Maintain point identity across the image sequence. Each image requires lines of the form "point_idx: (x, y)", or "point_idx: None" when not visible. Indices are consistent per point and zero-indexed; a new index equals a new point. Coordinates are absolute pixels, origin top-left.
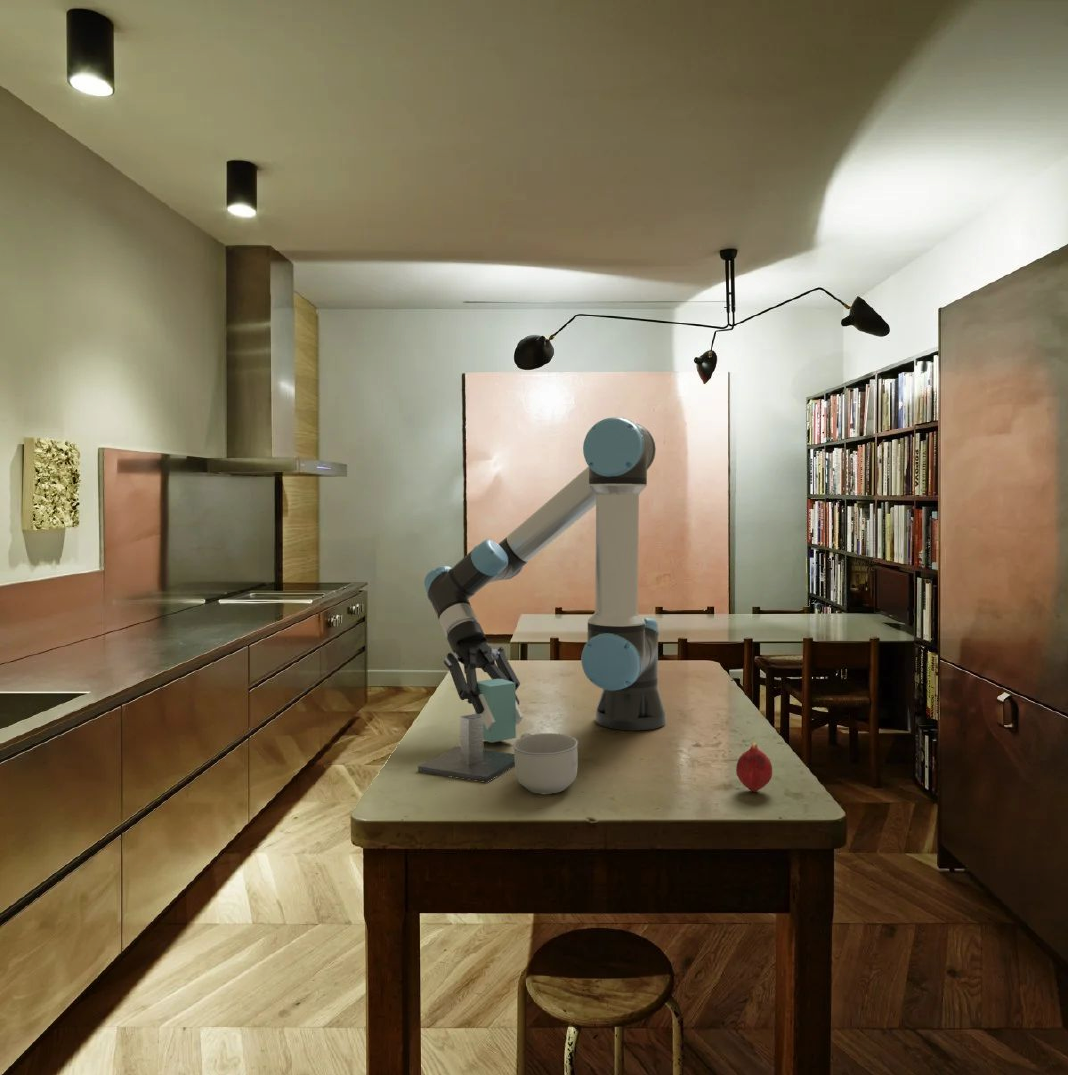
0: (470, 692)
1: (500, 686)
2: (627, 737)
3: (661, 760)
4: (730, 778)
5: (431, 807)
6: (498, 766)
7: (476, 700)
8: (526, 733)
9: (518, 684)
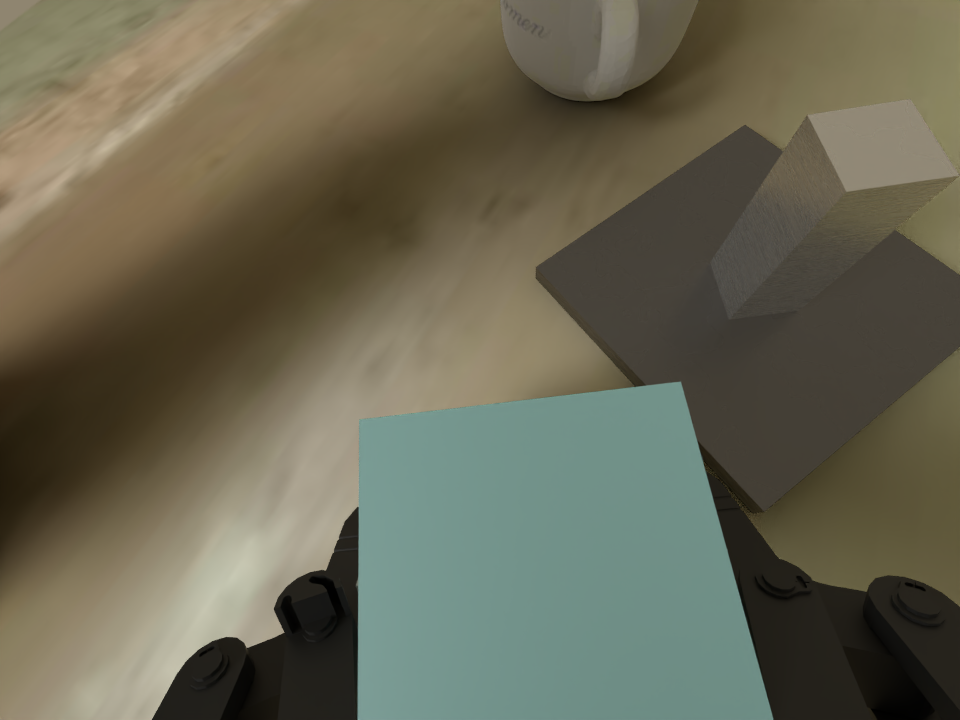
0: (837, 616)
1: (550, 398)
2: (54, 359)
3: (186, 135)
4: (181, 6)
5: (947, 41)
6: (673, 194)
7: (744, 533)
8: (623, 2)
9: (218, 644)
